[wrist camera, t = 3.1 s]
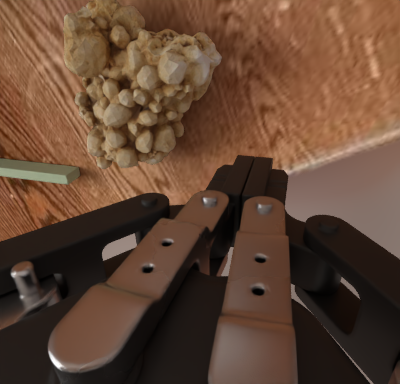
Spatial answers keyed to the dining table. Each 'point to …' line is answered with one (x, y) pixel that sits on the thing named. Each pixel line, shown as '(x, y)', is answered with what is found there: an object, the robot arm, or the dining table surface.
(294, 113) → the dining table surface
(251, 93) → the dining table surface
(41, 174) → the frame
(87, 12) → the mineral formation
